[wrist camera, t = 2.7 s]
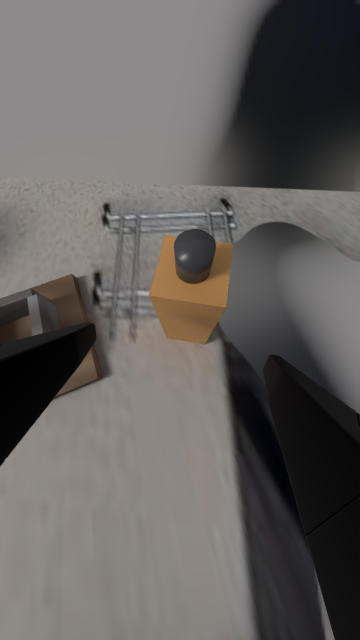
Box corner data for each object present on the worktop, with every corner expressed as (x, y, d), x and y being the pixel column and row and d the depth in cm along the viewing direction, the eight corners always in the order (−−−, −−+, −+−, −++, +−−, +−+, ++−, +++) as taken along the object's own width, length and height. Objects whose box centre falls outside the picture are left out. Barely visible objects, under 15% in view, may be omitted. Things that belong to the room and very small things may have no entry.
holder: (102, 378, 20) (82, 378, 16) (-30, 433, 18) (-86, 447, 14) (76, 278, 24) (56, 259, 20) (-32, 316, 22) (-76, 303, 19)
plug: (205, 344, 21) (235, 291, 8) (166, 337, 21) (141, 277, 9) (210, 308, 22) (242, 217, 10) (174, 302, 22) (161, 208, 10)
